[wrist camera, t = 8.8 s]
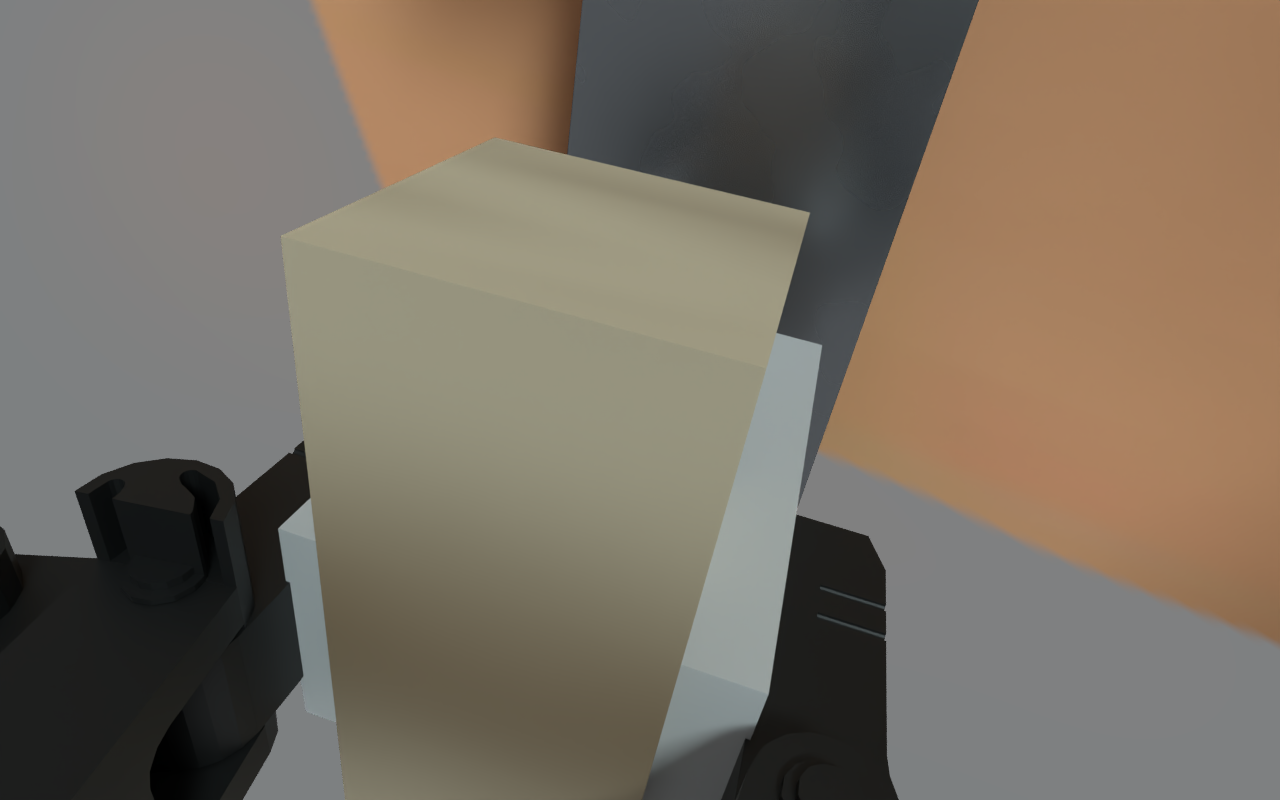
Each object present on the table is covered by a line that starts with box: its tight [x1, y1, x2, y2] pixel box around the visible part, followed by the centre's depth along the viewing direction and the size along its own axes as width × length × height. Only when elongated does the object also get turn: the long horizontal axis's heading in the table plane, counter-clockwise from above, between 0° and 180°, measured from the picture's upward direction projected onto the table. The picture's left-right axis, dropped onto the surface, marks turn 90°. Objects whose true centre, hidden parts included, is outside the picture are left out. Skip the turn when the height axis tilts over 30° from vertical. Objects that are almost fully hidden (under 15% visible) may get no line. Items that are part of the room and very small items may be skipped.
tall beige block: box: [281, 0, 979, 800], centre depth 10 cm, size 15×6×10 cm, turn 171°
